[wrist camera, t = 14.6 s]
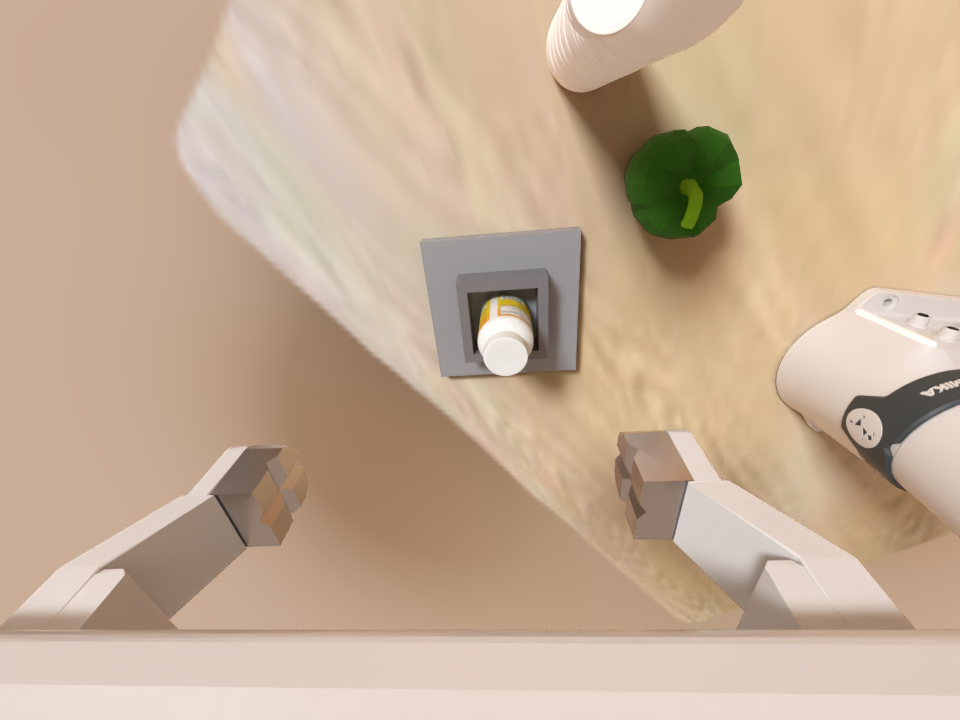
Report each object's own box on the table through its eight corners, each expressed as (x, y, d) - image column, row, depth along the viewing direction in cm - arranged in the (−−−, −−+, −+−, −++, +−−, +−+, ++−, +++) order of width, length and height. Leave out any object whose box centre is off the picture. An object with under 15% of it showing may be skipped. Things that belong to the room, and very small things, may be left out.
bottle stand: (578, 227, 40) (587, 237, 36) (573, 363, 48) (580, 383, 44) (422, 239, 41) (414, 250, 37) (442, 370, 49) (438, 390, 45)
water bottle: (606, -29, 30) (877, -431, 9) (637, 61, 33) (902, -74, 11) (507, 47, 33) (524, -115, 11) (543, 125, 35) (612, 115, 14)
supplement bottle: (517, 282, 41) (522, 320, 33) (537, 324, 44) (545, 370, 35) (471, 302, 43) (465, 344, 34) (493, 342, 45) (491, 390, 37)
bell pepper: (650, 106, 34) (701, 97, 26) (721, 156, 36) (791, 164, 27) (592, 196, 38) (620, 215, 30) (659, 238, 40) (703, 267, 31)
